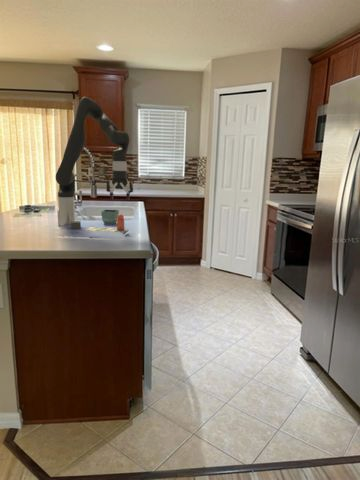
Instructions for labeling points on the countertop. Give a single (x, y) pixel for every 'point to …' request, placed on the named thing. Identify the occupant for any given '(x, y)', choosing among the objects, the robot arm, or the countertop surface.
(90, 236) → the countertop surface
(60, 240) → the countertop surface
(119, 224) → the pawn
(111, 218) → the flower pot
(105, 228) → the board
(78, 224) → the die
